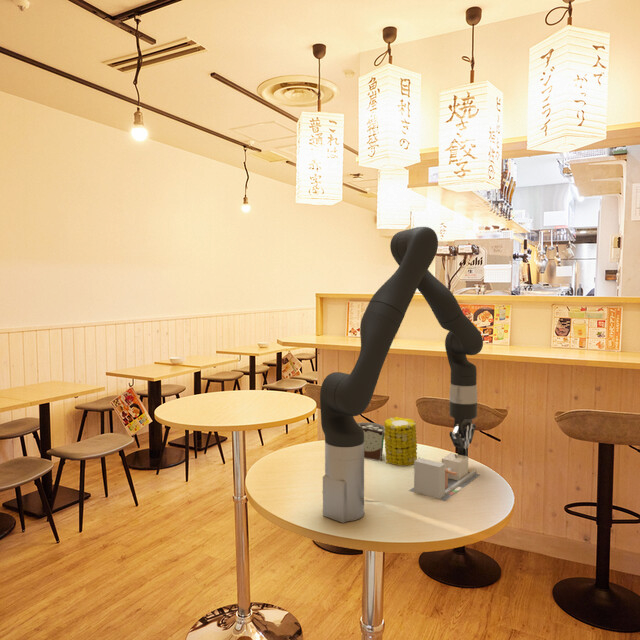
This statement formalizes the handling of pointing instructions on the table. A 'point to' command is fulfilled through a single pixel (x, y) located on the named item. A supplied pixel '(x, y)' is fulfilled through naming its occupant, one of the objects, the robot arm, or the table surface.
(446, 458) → the gauge housing
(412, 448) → the food
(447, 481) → the brown slider plate
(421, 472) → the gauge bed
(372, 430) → the chocolate cake half
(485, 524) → the table surface
